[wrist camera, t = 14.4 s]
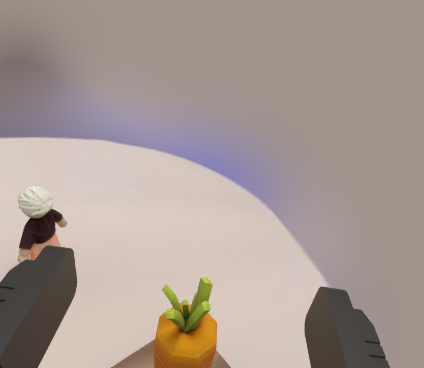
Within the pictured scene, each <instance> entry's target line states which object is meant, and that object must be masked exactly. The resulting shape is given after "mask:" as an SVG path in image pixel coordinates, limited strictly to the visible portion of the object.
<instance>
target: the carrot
mask: <svg viewBox="0 0 424 368" xmlns="http://www.w3.org/2000/svg"><path fill="white" fill-rule="evenodd" d="M211 288H212V283H211V281H210V280H209V279H207V278H201V279H200V283H199V287H198V291H197V293H195V296H194V299H193V302H192V305H188V301H187V300H184V301H182V304H180V303H179V302H178V300H177V297H176V295H175V294H174V292H173V291H172V290H171V289H170V288H169V287H168V286H167V285H165V286H164V287H163V289H162V291H163V292H164V293H165V295H166V296H167V297H168V298H169V300H170V302H171V304H172V306H173V308H171V309H168V310H166V312H165V313H164V314H162V315H161V316H160V318H159V323H158V328H157V333H156V338H155V343H154V368H211V365H212V362H213V359H214V355H215V352H216V341H217V323H216V321H215V320H214V319H213V318H212V317H211V316H210V315H209V314H208V312H209V310H210V309H211V308H210V304H209V302H208V300H209V296H210V293H211Z"/></svg>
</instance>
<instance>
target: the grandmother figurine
mask: <svg viewBox="0 0 424 368" xmlns="http://www.w3.org/2000/svg"><path fill="white" fill-rule="evenodd" d="M18 202H19V208H20V209H21V210H22V212H23V213H24V214H26V215H27V216H28V217H31V218H30V219H29V221H28V222H27V223H26V225H25V227H24V230H23V234H22V237H21V241H20V245H19V248H20V250H19V254H20V255H19V257H18V261H19V262H20V263H21V262H23V261H24V260H26V259H27V260H28V259H29V256H28V255H29V253H30V260H35V259H36V258H37V256H38V255H39V254H40V252H41V251H42V249H43V248H44V247H45V246H47V245H51V246H58V247H61V245H60V243H59V241H58V239H57V236H56V234H55V231H56V229H55V222H56V223H57V224H58V225H59V226H60V227H65V226H66V225H67V221H66V220H64V218H63V216H62V214H61V213H59V212H57V211H56V210H53V209H51V208H52V206H53V203H52V196H51V195H50V194H49V193H48V191H46V190H45V189H43V188H42V187H40V186H31V187H29V188H27V189H25V190H24V191H23V192H22V193H20V196H19V200H18Z"/></svg>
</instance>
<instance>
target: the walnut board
mask: <svg viewBox="0 0 424 368" xmlns="http://www.w3.org/2000/svg"><path fill="white" fill-rule="evenodd" d="M154 343H155V340H153V341H152V342H150V343H148V344H147V345H145V346H144V347H142V348H141V349H139V350H138V351H136V352H135V353H133V354H131V355H130V356H128V357H127V358H125V359H124V360H122V361H121V362H119V363H118V364H116V365H114V366H113V367H111V368H154ZM211 368H231V367H230V366H229V365H228V364H227V362H226V361H225V360H224V359H223V358H222V357H221V355H220V354H219V353H218V352H217V351H216V352H215V355H214V359H213V362H212V365H211Z"/></svg>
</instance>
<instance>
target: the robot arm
mask: <svg viewBox="0 0 424 368" xmlns="http://www.w3.org/2000/svg"><path fill="white" fill-rule="evenodd" d="M76 287H77V276H76V267H75V259H74V252H73V250H72V249H71V248H64V247H58V246H51V245H47V246H45V247H44V248H43V249H42V251H41V252H40V254H39V255H38V256H37V258H36V259H35V260H27V259H26V260H24V261H23V262H21V263H20V264H18V265H17V266H16V267H14V268H13V269H11V270H10V271H9V272H8V273H7V274H6V276H5V277H4V278H3V280H2V281H1V282H0V368H38V366H39V364H40V362H41V360H42V358H43V356H44V354H45V352H46V351H47V349H48V347H49V345H50V343H51V341H52V339H53V337H54V335H55V333H56V331H57V329H58V327H59V325H60V323H61V321H62V319H63V318H64V316H65V314H66V312H67V310H68V308H69V306H70V304H71V302H72V300H73V298H74V295H75V292H76ZM305 337H306V343H307V348H308V353H309V359H310V364H311V368H390V367H389V364H388V362H387V361H386V359H385V354H384V352H383V349H382V347H381V346H380V341H379V339H378V336H377V333H376V331H375V328H374V326H373V324H372V323H371V322H370V321H369V319H368V318H367V317H366V315H365V314H364V313H363V311H362V310H358V309H353V307H352V304H351V301H350V298H349V295H348V293H347V292H346V291H345V290H341V289H334V288H328V287H320V288H319V289H318V291H317V293H316V296H315V298H314V300H313V302H312V304H311V306H310V309H309V311H308V313H307V315H306V319H305Z"/></svg>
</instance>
